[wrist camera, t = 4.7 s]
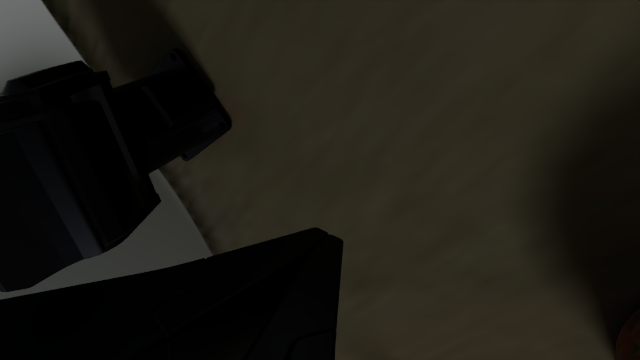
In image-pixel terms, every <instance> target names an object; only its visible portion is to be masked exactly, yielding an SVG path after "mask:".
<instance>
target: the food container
mask: <svg viewBox="0 0 640 360" xmlns="http://www.w3.org/2000/svg"><path fill="white" fill-rule="evenodd" d="M615 360H640V307H639V308H638V309H637V310H636V311H635V312H634V313H633V314H632V315H631V316H630V317H629V318H628V319H627V321H626V322H625V323H624V325H623V326H622V328H621V331H620V332H619V335H618V338H617V341H616V351H615Z"/></svg>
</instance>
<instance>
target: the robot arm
mask: <svg viewBox="0 0 640 360" xmlns="http://www.w3.org/2000/svg"><path fill="white" fill-rule="evenodd" d="M175 55H176V57H175ZM109 80H110V77H109V75H108V72H107V71H99V72H93V70H92V69H90V68H89V67H88V66H87V65H86V64H85V63H84V62H83V61H75V62H70V63H67V64H62V65H58V66H54V67H50V68H47V69H43V70H40V71H36V72H33V73H30V74H27V75H24V76H21V77H18V78H15V79H11V80H8V81H7V83H6V85H5V87H4V89H3V91H2V93H0V291H1V292H10V291H15V290H21V289H26V288H30V287H32V286H34V285H36V284H38V283H39V282H41V281H43V280H44V279H46V278H48V277H49V276H51V275H53V274H54V273H56V272H58V271H60V270H62V269H63V268H65V267H67V266H69V265H71V264H74V263H75V262H78V261H80V260H83V259H86V258H91V257H94V256H97V255H100V254H102V253H104V252H107V251H109V250H110V249H112V248H114V247H116V246H117V245H118V244H120V243H121V242H123V241H124V240H125V239H126V238H127V237H128V236H129V235H130V234H131V233H132V232H133V231H134V230H135V229H136V228H137V226H138V225H139V224H140V223H141V222H142V221H143V220H144V219H145V218H146V217H147V216H148V215H149V214H150V213H151V212H152V211H153V209H154V208H155V207H156V206H157V205H158V204H159V203H160V202H161V200H160V197H159V195H158V194H157V193H156V191H155V189H154V187H153V184H152V182H151V180H150V177H149V174H150V173H151V172H153V171H155V170H157V169H158V168H160V167H162V166H163V165H165V164H167V163H169V162H170V161H172V160H174V159H175V158H177V157H179V156H180V157H181V158H182V159H183V160H184V161H189V160H190V159H192V158H193V157H195V156H196V155H197V154H198V153H200V152H201V151H202V150H204V149H205V148H206V147H208V146H209V145H210V144H212V143H213V142H214V141H216V140H217V139H218V138H219V137H221V136H222V135H223V134H225V133H226V132H227V131H229V130H230V129H231V126H232V125H231V122H230V120H229V119H228V117H227V116H226V114H225V113H224V112H223V110H222V109H221V107H220V106H219V104H218V103H217V102H216V100H215V99H214V97H213V96H212V95H211V93H210V92H209V90H208V89H207V88H206V86H205V85H204V83H203V82H202V80H201V79H200V78H199V76H198V75H197V73H196V72H195V71H194V69H193V68H192V66H191V65H190V63H189V62H188V61H187V59H186V58H185V56H184V55H183V54H182V52H181V51H180V50H179V49H177V48H175V49H171V50H169V51H168V52H167V54H166V55H165V56H164V57H163V59H162V60H161V61H160V62H159V63H158V65H157V66H156V67H155V68H154V69H153V71H152V72H151V73H150V74H149V75H148V77H145V78H142V79H139V80H136V81H133V82H130V83H127V84H124V85H121V86H118V87H115V88H112V86H111V84H110V81H109ZM223 123H224V124H225V126H224V124H223ZM342 253H343V240H342V239H340V238H338V237H336V236H334V235H329V234H328V233H327V232H325V231H323V230H321V229H319V228H317V227H315V228H311V229H307V230H303V231H300V232H296V233H293V234H289V235H286V236H282V237H279V238H275V239H271V240H268V241H264V242H261V243H257V244H254V245H250V246H247V247H243V248H239V249H236V250H232V251H229V252H225V253H222V254H218V255H215V256H211V257H208V258H207V259H205V258H202V259H199V260H195V261H191V262H188V263H184V264H180V265H176V266H172V267H168V268H163V269H158V270H154V271H149V272H144V273H139V274H134V275H129V276H123V277H118V278H112V279H108V280H102V281H97V282H91V283H86V284H81V285H75V286H70V287H65V288H60V289H55V290H49V291H44V292H39V293H34V294H28V295H23V296H18V297H12V298H8V299H2V300H0V360H335V343H336V327H337V315H338V302H339V290H340V278H341V265H342Z"/></svg>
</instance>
